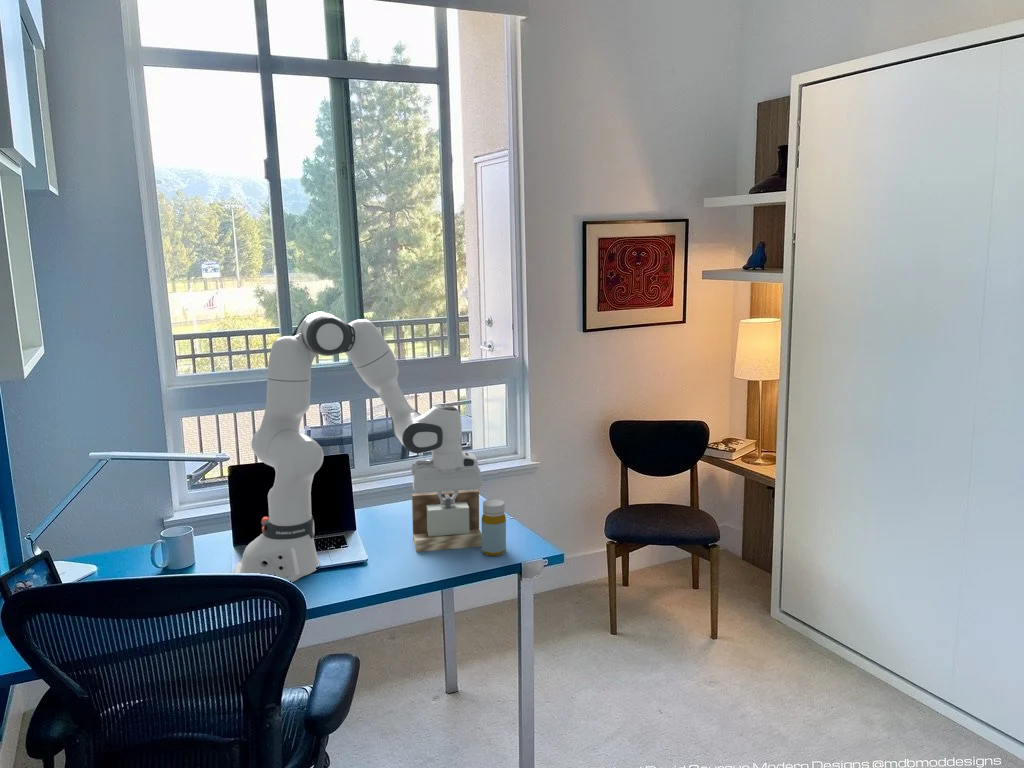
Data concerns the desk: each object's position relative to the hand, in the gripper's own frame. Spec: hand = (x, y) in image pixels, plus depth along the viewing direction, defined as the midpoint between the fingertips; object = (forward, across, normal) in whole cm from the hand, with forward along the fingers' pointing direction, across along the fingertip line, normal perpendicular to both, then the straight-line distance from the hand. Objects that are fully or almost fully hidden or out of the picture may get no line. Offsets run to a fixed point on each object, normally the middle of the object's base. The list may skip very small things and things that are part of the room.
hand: (447, 504), depth 224 cm
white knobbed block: (+9, 0, 0) cm, 9 cm away
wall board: (+12, 0, -1) cm, 12 cm away
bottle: (+12, +12, -10) cm, 20 cm away
